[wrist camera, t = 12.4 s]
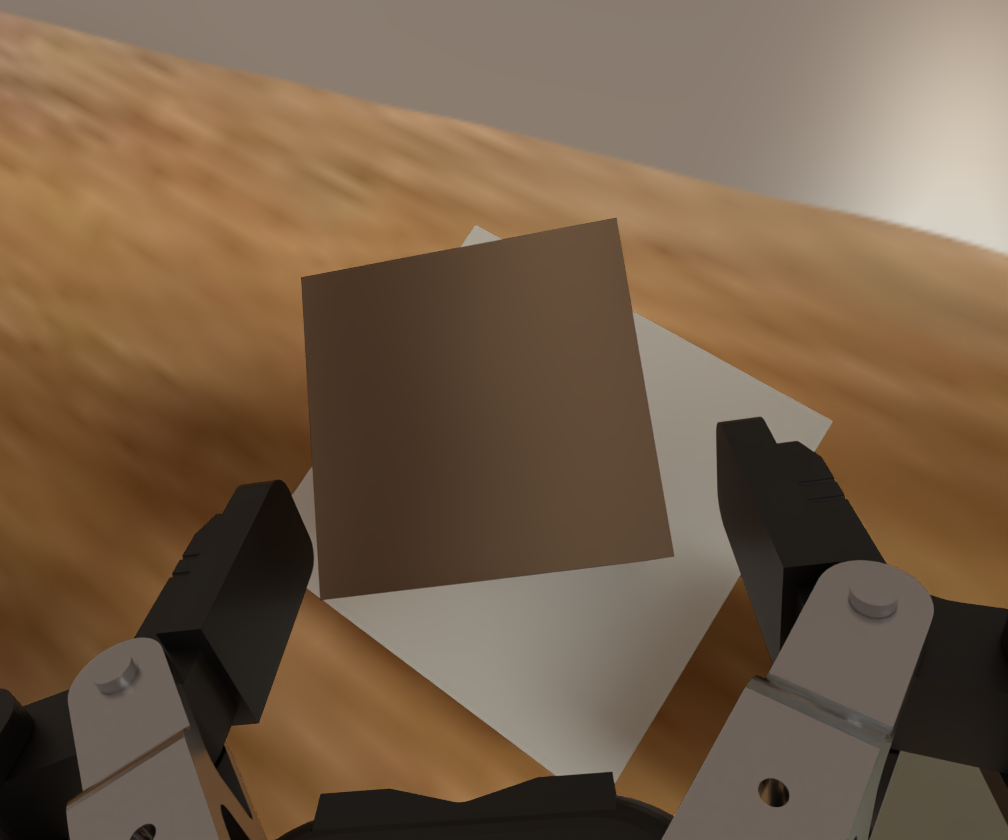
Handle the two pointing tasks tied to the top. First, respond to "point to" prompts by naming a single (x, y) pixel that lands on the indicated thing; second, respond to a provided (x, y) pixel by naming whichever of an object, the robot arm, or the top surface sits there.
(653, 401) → the base block
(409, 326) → the walnut block
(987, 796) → the sage green block
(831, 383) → the top surface
